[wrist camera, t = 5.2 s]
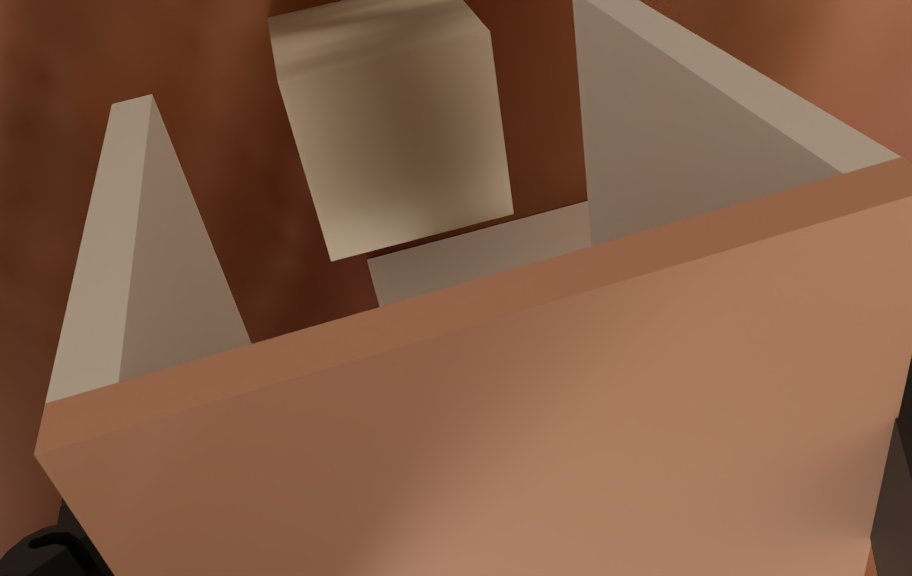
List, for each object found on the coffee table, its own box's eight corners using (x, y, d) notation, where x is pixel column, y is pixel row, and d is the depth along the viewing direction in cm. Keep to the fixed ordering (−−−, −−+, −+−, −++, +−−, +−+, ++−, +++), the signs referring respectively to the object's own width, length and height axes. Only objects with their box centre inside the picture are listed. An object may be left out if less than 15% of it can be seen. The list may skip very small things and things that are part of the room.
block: (313, 175, 26) (331, 261, 22) (266, 16, 23) (277, 81, 19) (468, 137, 26) (513, 213, 22) (442, -24, 23) (490, 31, 19)
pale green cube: (417, 446, 33) (470, 641, 26) (366, 259, 28) (417, 443, 21) (633, 383, 34) (740, 555, 27) (625, 190, 29) (757, 344, 22)
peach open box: (266, 462, 20) (306, 862, 13) (111, 104, 14) (33, 454, 7) (626, 352, 21) (844, 665, 14) (606, -19, 15) (949, 184, 8)
